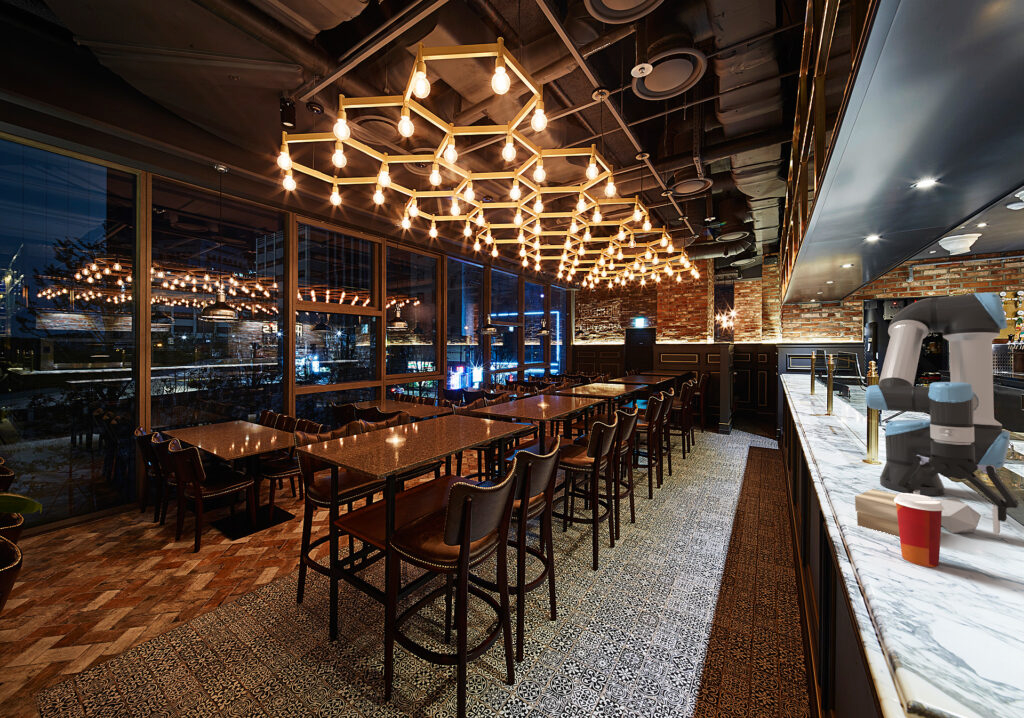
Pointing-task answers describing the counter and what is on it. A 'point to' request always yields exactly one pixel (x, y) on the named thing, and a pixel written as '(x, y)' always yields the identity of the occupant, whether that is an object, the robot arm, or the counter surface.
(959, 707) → the counter surface
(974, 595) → the counter surface
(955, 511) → the die
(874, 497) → the tower top slab
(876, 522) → the tower base slab
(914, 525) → the paper cup
